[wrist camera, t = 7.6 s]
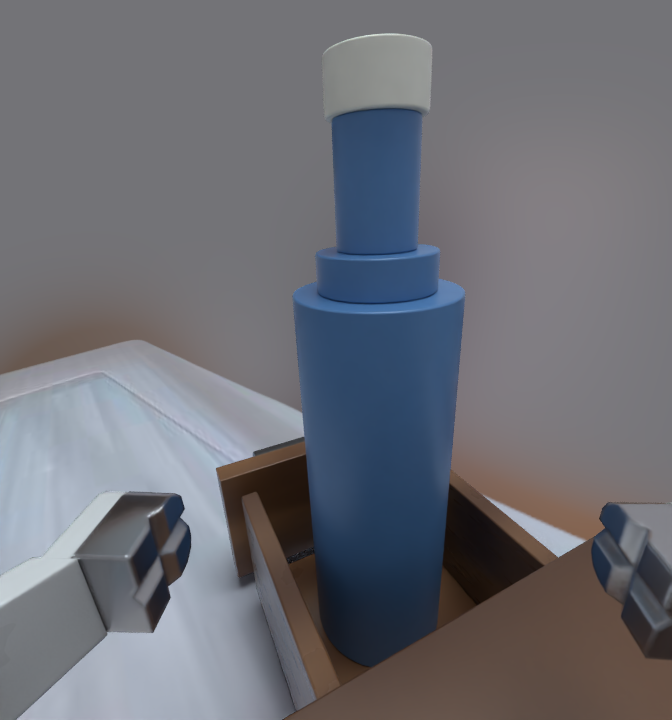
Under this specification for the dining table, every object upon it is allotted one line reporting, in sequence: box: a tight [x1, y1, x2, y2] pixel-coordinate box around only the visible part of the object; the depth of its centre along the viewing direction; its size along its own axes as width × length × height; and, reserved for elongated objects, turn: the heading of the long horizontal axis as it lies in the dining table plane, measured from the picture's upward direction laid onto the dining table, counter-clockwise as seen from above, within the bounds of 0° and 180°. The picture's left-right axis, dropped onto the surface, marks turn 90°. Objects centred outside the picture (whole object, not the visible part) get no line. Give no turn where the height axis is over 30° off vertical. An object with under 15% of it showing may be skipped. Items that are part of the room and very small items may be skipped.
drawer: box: [216, 436, 558, 711], centre depth 20 cm, size 18×11×7 cm, turn 26°
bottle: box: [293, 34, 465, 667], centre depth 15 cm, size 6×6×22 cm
